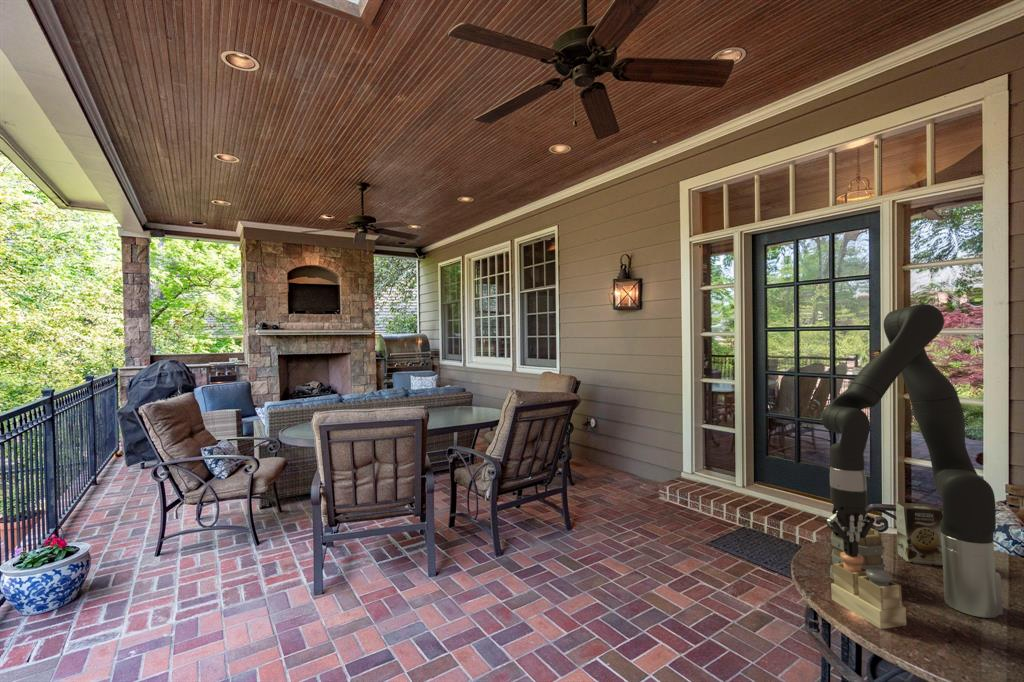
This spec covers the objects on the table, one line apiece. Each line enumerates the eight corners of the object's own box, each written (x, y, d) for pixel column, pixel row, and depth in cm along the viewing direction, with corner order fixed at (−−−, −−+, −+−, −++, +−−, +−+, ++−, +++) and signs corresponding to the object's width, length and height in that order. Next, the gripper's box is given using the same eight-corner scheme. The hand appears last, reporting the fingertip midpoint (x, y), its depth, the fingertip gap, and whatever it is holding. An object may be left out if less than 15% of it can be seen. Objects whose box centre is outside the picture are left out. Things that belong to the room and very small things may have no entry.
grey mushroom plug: (879, 596, 110) (877, 567, 110) (898, 606, 106) (896, 576, 106) (862, 598, 109) (861, 569, 110) (881, 608, 105) (879, 578, 105)
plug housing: (855, 596, 118) (853, 561, 118) (906, 625, 105) (904, 585, 105) (831, 599, 117) (830, 563, 117) (880, 629, 104) (878, 588, 104)
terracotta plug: (852, 577, 117) (851, 550, 117) (869, 586, 113) (868, 558, 113) (837, 579, 116) (835, 552, 117) (853, 588, 112) (852, 560, 112)
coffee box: (908, 563, 135) (905, 508, 136) (897, 553, 142) (894, 501, 142) (946, 566, 133) (942, 510, 133) (933, 557, 139) (930, 503, 140)
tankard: (889, 597, 117) (886, 538, 118) (829, 583, 125) (826, 527, 125) (885, 567, 133) (882, 515, 134) (832, 557, 141) (830, 507, 141)
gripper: (838, 491, 111) (841, 564, 110) (884, 488, 113) (888, 559, 112) (812, 483, 118) (816, 551, 117) (857, 480, 120) (860, 546, 120)
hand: (851, 555), depth 115 cm, fingers closed
